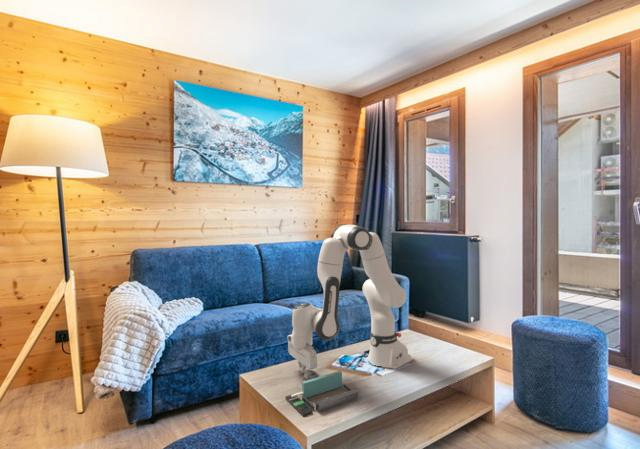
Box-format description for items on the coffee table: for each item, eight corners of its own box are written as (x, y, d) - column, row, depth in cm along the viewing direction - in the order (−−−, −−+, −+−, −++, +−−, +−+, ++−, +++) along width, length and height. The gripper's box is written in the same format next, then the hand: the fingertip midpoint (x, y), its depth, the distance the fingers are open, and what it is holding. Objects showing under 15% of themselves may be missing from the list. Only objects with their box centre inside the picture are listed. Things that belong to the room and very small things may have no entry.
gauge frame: (338, 382, 157) (338, 375, 156) (360, 398, 144) (360, 390, 144) (285, 399, 143) (285, 391, 143) (304, 418, 131) (304, 409, 130)
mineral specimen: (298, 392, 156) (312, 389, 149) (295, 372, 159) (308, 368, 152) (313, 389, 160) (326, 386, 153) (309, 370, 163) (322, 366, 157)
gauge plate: (339, 384, 154) (339, 370, 153) (341, 386, 153) (341, 372, 152) (290, 400, 142) (290, 385, 141) (292, 402, 140) (292, 386, 140)
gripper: (320, 346, 154) (320, 378, 155) (297, 332, 172) (297, 361, 173) (307, 349, 151) (308, 382, 152) (285, 334, 169) (285, 364, 169)
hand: (302, 371), depth 162 cm, fingers closed
